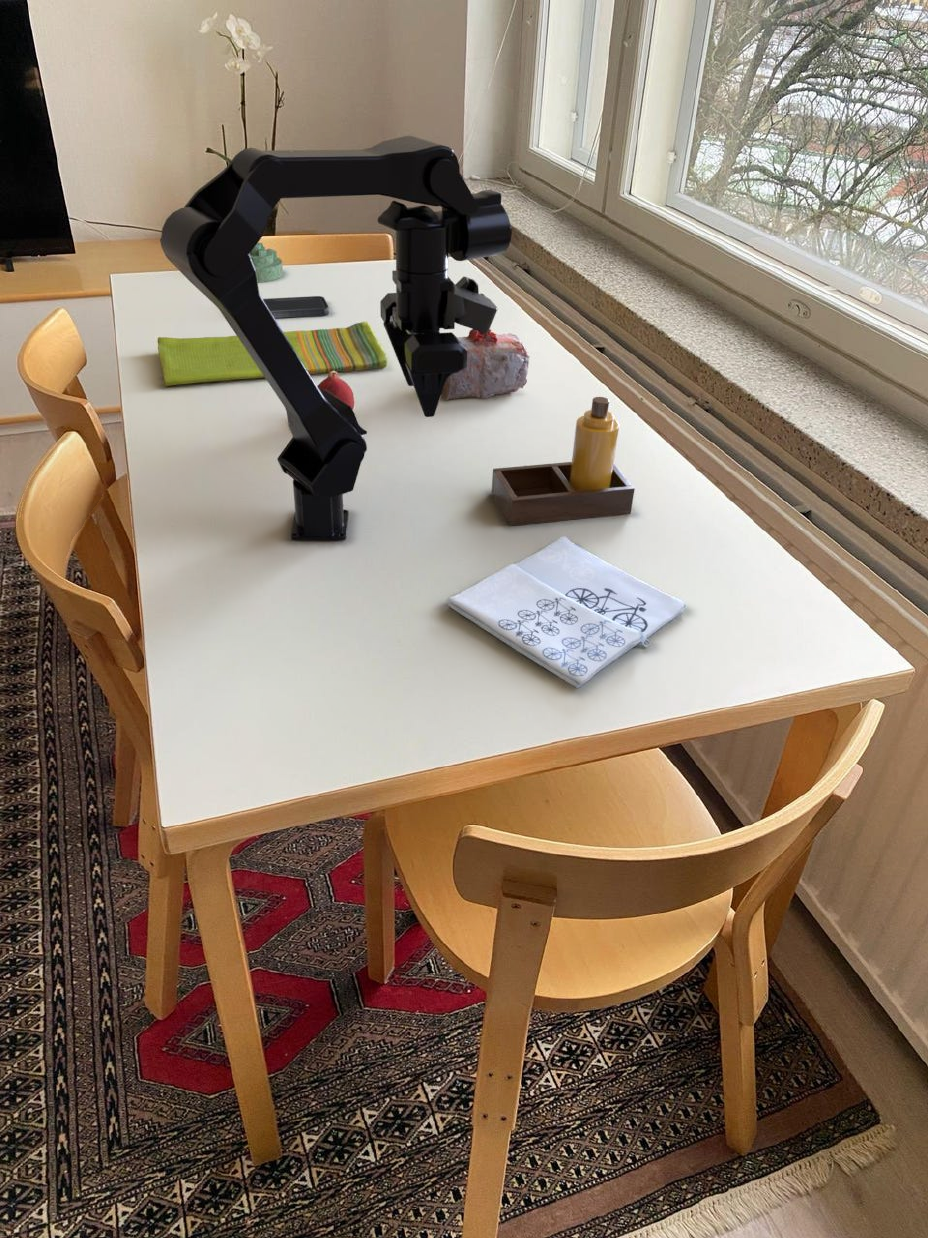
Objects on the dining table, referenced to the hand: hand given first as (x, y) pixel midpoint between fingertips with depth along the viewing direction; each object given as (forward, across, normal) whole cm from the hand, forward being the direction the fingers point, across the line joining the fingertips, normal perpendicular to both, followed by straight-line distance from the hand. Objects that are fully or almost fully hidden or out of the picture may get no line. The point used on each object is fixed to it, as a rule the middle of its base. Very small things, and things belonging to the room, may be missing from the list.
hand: (420, 400), depth 111 cm
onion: (+13, +22, +8) cm, 27 cm away
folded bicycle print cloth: (+13, -28, -10) cm, 32 cm away
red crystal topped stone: (+13, +31, -17) cm, 38 cm away
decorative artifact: (+13, +97, +12) cm, 98 cm away
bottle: (+12, -5, -21) cm, 25 cm away
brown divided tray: (+13, -5, -17) cm, 22 cm away
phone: (+13, +74, +9) cm, 75 cm away
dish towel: (+13, +49, +14) cm, 52 cm away
